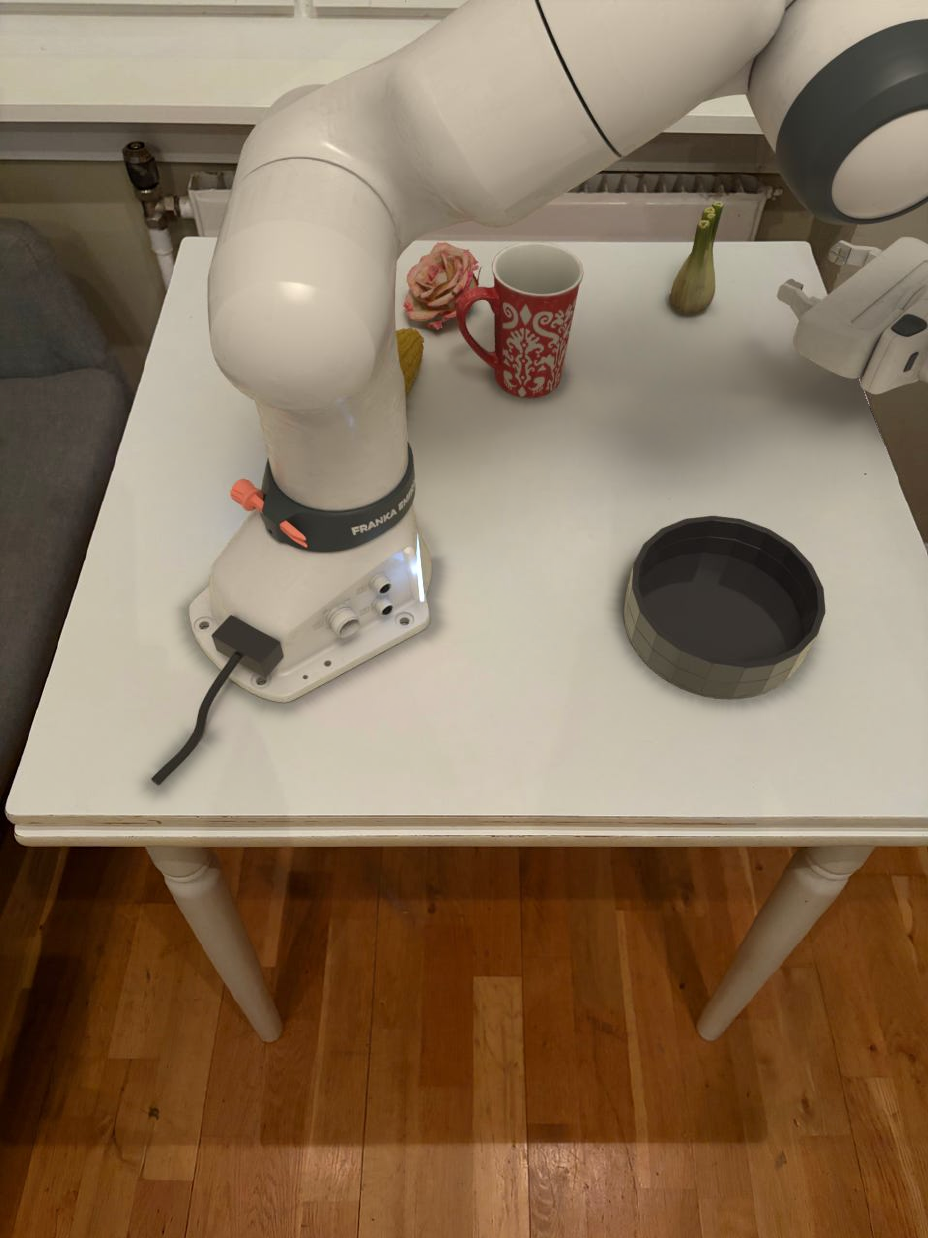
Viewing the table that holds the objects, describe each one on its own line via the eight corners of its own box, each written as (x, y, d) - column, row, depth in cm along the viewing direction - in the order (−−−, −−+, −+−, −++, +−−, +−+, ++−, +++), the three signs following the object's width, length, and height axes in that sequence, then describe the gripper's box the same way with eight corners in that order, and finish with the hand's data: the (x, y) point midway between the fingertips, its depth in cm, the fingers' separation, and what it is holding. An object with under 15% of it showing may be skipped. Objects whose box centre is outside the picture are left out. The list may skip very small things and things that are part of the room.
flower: (467, 266, 112) (429, 224, 106) (516, 289, 107) (479, 247, 100) (420, 334, 113) (379, 296, 107) (466, 361, 108) (426, 323, 101)
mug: (556, 344, 107) (568, 235, 96) (579, 397, 102) (595, 288, 91) (447, 359, 105) (446, 250, 94) (465, 414, 100) (466, 305, 89)
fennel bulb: (693, 288, 113) (716, 193, 103) (722, 309, 111) (748, 214, 101) (656, 304, 111) (676, 209, 101) (685, 326, 109) (708, 231, 99)
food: (374, 489, 93) (370, 445, 89) (320, 478, 94) (313, 434, 89) (433, 355, 105) (432, 310, 100) (385, 346, 106) (382, 301, 101)
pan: (736, 734, 78) (752, 703, 74) (586, 621, 84) (593, 586, 80) (842, 621, 85) (861, 587, 81) (695, 524, 91) (707, 488, 87)
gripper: (996, 255, 93) (872, 199, 99) (888, 349, 85) (759, 283, 90) (968, 309, 98) (851, 253, 104) (864, 403, 90) (743, 337, 95)
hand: (808, 267), depth 97 cm, fingers open, 8 cm apart
